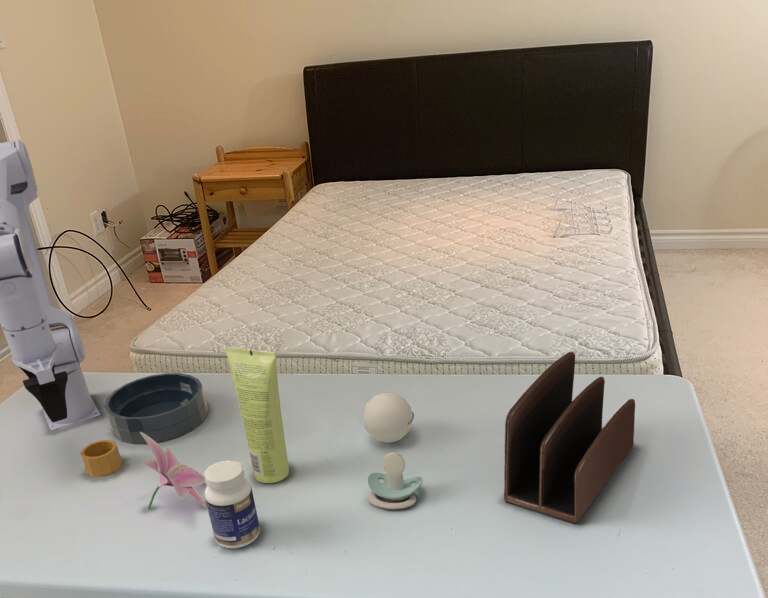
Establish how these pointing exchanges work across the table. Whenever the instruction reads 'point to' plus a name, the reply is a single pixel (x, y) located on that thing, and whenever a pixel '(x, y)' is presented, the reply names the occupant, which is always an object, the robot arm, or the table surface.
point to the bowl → (156, 408)
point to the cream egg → (388, 417)
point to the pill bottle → (231, 505)
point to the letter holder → (563, 444)
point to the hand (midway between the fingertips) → (54, 409)
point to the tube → (260, 411)
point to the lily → (173, 472)
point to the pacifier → (393, 484)
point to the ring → (101, 458)
